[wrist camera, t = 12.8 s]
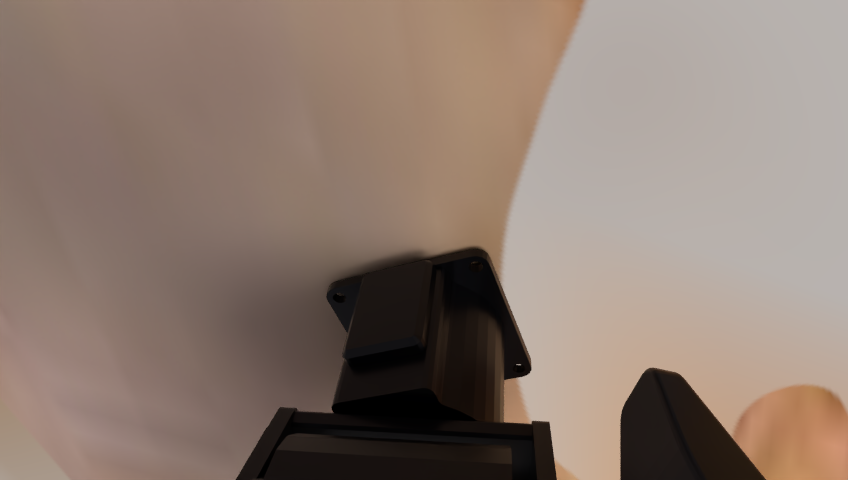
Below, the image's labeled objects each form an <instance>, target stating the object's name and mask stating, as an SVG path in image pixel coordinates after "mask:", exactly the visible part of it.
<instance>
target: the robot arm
mask: <svg viewBox="0 0 848 480" xmlns="http://www.w3.org/2000/svg"><path fill="white" fill-rule="evenodd" d="M474 261H478V262H480V263H482V264H480V265H473V264H471V263H472V262H474ZM337 293H341V294H343V295H344V296H340V295H338V294H337ZM327 300H328V302H329V303H330V305H331V307H332V308H333V310H334V312H335V313H336V315H337V317H338V318H339V320H340V322H341V323H342V325H343V327H344V328H345V330H346V332H347V333H348V334H347V338H346V341H345V345H344V349H343V353H342V356H343V358H344V361H343V365H342V369H341V373H340V377H339V380H338V384H337V388H336V392H335V396H334V400H333V403H332V407H331V408H332V411H333V412H334V413H323V412H305V411H298V410H297V408H285V407H280V408H279V409H278V411H277V413H276V414H275V416H274V418H273V419H272V421H271V423H270V424H269V426H268V427H267V428H266V430H265V431H264V433H263V435H262V436H261V438H260V440H259V441H258V443H257V445H256V447H255V448H254V450H253V452H252V453H251V455H250V457H249V458H248V460H247V462H246V463H245V465H244V467H243V469H242V470H241V472H240V474H239V475H238V477H237V479H236V480H557V478H556V470H555V463H554V455H553V447H552V440H551V431H550V424H549V422H542V421H532V424H524V423H505V422H504V380H506V379H511V378H517V377H523V376H525V375H527V374H529V373H530V371H531V358H530V356H529V353H528V351H527V348H526V346H525V344H524V341H523V339H522V336H521V333H520V331H519V328H518V326H517V324H516V321H515V319H514V316H513V314H512V311H511V309H510V306H509V304H508V301H507V299H506V296H505V294H504V291H503V289H502V286H501V284H500V281H499V279H498V276H497V274H496V271H495V269H494V266H493V264H492V261H491V259H490V257H489V255H488V254H487V253H486V252H485V251H483V250H479V249H473V250H468V251H464V252H460V253H455V254H451V255H447V256H443V257H438V258H434V259H430V260H422V261H418V262H414V263H409V264H405V265H401V266H397V267H392V268H388V269H384V270H380V271H375V272H371V273H367V274H365V275H362V276H358V277H354V278H349V279H345V280H341V281H337V282H334V283H332V284H331V285H330V286H329V289H328V292H327ZM516 364H521V365H516ZM621 480H766V479H765V478H764V477H763V475H762V474H761V473H760V472H759V470H758V469H757V468H756V467H755V465H754V464H753V463H752V462H751V461H750V459H749V458H748V457H747V456H746V454H745V453H744V452H743V451H742V449H741V448H740V447H739V446H738V444H737V443H736V442H735V441H734V440H733V438H732V437H731V436H730V435H729V433H728V432H727V431H726V430H725V428H724V427H723V426H722V425H721V423H720V422H719V421H718V420H717V419H716V417H715V416H714V415H713V414H712V412H711V411H710V410H709V409H708V407H707V406H706V405H705V404H704V403H703V401H702V400H701V399H700V398H699V396H698V395H697V394H696V393H695V391H694V390H693V389H692V388H691V386H690V385H689V384H688V383H687V382H686V380H685V379H684V378H683V377H682V376H681V375H680V374H678V373H676V372H671V371H666V370H662V369H657V368H649V369H647V370H646V371H645V372H644V373H643V374H642V376H641V378H640V379H639V381H638V382H637V384H636V386H635V388H634V389H633V391H632V393H631V394H630V396H629V398H628V399H627V401H626V402H625V405H624V407H623V410H622V414H621Z"/></svg>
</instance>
